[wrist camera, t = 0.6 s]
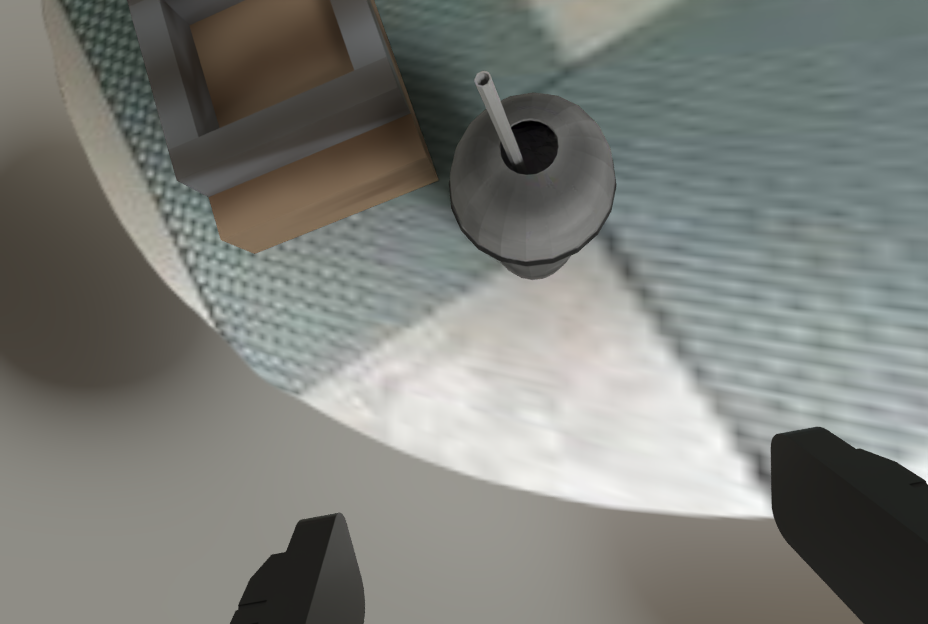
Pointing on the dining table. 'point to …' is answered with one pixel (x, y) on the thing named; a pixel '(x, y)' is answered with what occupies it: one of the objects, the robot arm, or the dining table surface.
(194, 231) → the dining table surface
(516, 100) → the beverage cup
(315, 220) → the cup block
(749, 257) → the dining table surface
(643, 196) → the dining table surface
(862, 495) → the robot arm
